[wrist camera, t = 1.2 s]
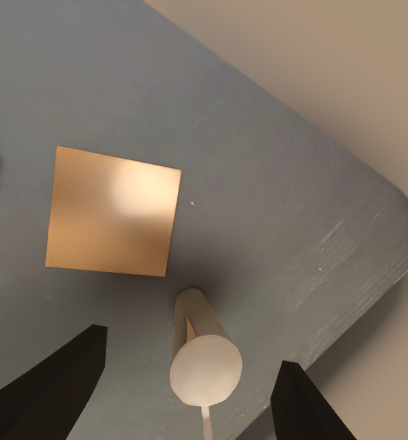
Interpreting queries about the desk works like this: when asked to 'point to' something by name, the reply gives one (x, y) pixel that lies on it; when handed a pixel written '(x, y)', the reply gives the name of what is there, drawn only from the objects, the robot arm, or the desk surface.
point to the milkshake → (202, 356)
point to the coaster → (111, 213)
